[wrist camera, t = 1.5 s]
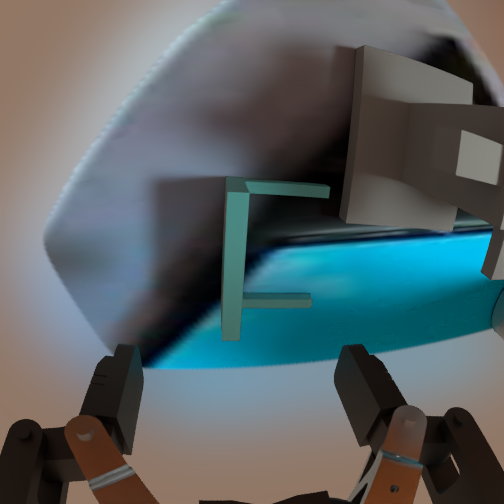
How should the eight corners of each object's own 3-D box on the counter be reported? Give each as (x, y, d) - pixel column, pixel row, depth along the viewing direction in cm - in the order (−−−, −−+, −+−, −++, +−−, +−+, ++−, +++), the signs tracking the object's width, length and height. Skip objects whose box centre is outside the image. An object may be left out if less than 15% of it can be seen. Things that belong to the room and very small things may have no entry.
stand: (461, 84, 20) (572, 89, 9) (442, 225, 25) (537, 288, 14) (355, 48, 19) (462, 8, 8) (338, 216, 24) (424, 297, 13)
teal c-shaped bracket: (325, 183, 23) (351, 199, 18) (308, 302, 27) (324, 338, 22) (225, 176, 22) (227, 192, 17) (220, 302, 26) (221, 340, 21)
